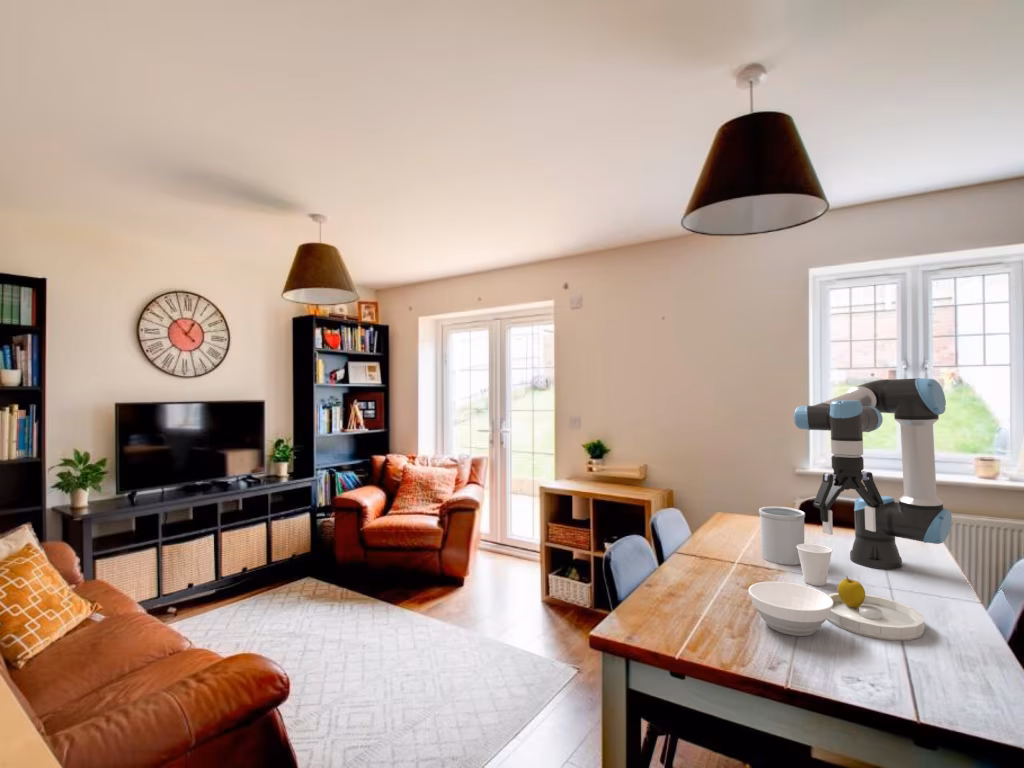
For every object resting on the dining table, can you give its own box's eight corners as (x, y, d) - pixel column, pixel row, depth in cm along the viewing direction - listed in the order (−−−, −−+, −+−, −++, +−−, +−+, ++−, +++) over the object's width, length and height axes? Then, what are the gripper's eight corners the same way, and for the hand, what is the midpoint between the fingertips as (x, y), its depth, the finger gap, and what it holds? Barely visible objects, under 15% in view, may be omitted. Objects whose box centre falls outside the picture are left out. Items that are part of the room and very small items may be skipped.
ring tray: (871, 601, 150) (871, 589, 150) (947, 636, 128) (947, 623, 128) (803, 607, 146) (802, 595, 146) (869, 644, 124) (869, 631, 125)
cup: (838, 589, 159) (837, 553, 159) (803, 587, 161) (802, 552, 161) (826, 578, 169) (825, 544, 169) (792, 576, 171) (792, 542, 171)
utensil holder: (810, 567, 179) (809, 516, 180) (763, 563, 184) (761, 514, 184) (801, 554, 193) (800, 507, 193) (757, 551, 198) (756, 505, 198)
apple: (838, 600, 148) (838, 572, 148) (866, 605, 144) (865, 576, 144) (837, 608, 143) (836, 578, 143) (865, 613, 139) (864, 583, 139)
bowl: (834, 652, 121) (833, 616, 121) (743, 633, 131) (743, 600, 131) (834, 621, 137) (833, 589, 138) (754, 606, 148) (753, 576, 148)
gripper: (874, 452, 150) (876, 525, 150) (797, 455, 146) (799, 531, 146) (897, 455, 143) (899, 532, 143) (817, 458, 139) (819, 538, 138)
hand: (849, 532), depth 144 cm, fingers open, 13 cm apart
